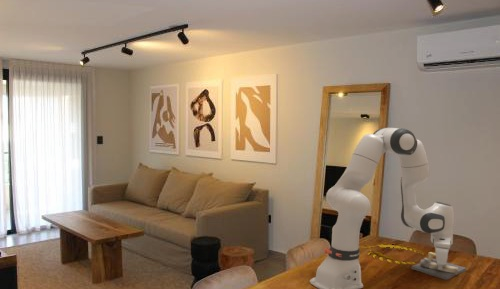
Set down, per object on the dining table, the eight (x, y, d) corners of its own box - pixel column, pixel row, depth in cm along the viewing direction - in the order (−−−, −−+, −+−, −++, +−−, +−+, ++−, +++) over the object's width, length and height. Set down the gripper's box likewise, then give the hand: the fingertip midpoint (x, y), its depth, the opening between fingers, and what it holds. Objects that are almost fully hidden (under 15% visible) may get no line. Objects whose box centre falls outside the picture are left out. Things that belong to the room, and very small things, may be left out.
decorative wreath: (350, 254, 199) (411, 269, 181) (350, 251, 199) (411, 266, 181) (373, 240, 227) (428, 251, 208) (373, 237, 226) (429, 248, 208)
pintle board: (446, 280, 168) (446, 268, 167) (411, 268, 180) (412, 257, 180) (466, 270, 180) (466, 259, 180) (432, 260, 192) (433, 250, 192)
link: (419, 266, 179) (419, 261, 179) (421, 263, 183) (421, 258, 183) (456, 274, 170) (457, 269, 170) (458, 271, 174) (458, 266, 174)
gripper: (433, 232, 184) (432, 260, 184) (434, 243, 165) (432, 275, 166) (448, 234, 181) (447, 263, 182) (450, 245, 162) (448, 278, 163)
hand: (440, 269), depth 173 cm, fingers closed
